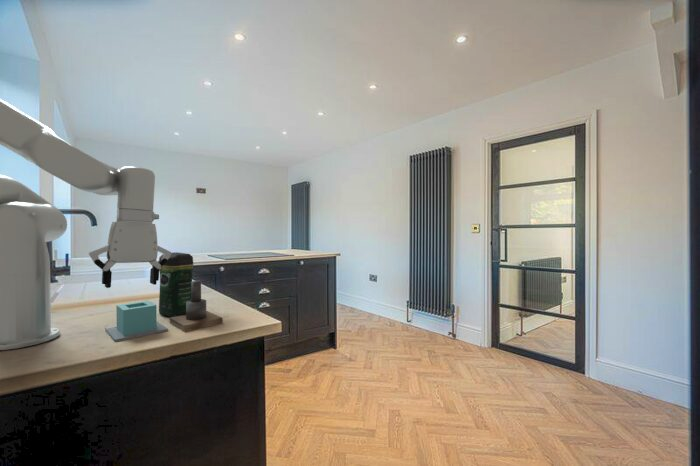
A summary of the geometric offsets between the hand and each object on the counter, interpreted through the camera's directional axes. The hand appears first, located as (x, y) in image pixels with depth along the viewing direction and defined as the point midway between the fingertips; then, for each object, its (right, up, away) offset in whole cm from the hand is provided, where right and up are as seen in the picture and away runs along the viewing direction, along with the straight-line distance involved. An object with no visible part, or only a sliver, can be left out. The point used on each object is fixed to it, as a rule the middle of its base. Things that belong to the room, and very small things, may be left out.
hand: (131, 285), depth 80 cm
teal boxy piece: (+1, -11, +1) cm, 11 cm away
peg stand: (+13, -12, +7) cm, 19 cm away
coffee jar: (+2, -12, +17) cm, 20 cm away
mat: (+1, -12, +1) cm, 12 cm away
